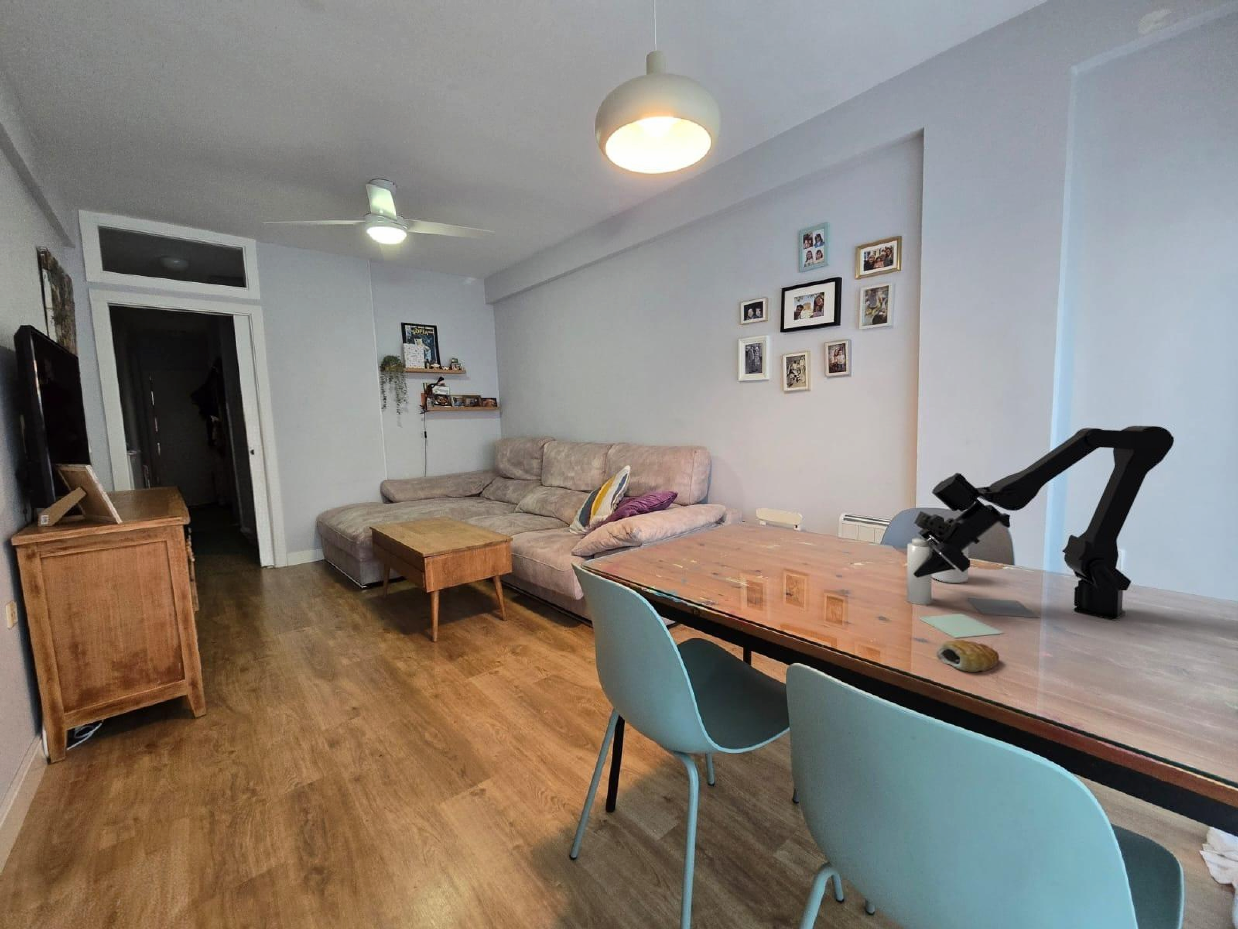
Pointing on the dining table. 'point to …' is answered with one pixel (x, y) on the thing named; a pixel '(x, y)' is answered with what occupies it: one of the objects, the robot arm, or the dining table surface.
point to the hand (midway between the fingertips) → (912, 572)
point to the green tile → (959, 626)
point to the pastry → (968, 655)
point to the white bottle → (915, 557)
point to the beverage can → (953, 573)
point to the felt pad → (1001, 607)
